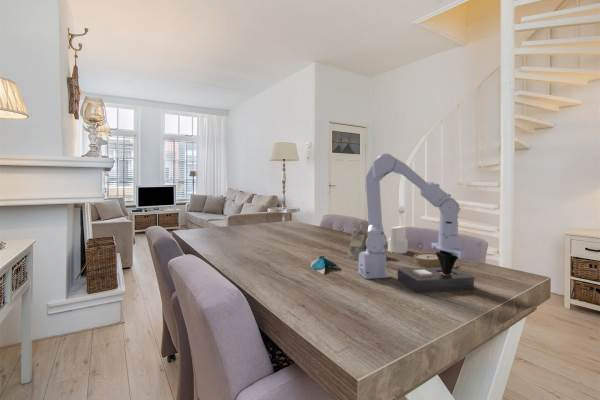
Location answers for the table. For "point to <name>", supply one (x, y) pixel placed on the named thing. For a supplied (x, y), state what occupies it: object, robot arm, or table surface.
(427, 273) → the cream key
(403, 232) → the cream upright block
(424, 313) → the table surface
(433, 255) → the alarm clock
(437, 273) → the grey flat block
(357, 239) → the ceramic cottage
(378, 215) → the robot arm
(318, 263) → the decorative butterfly
